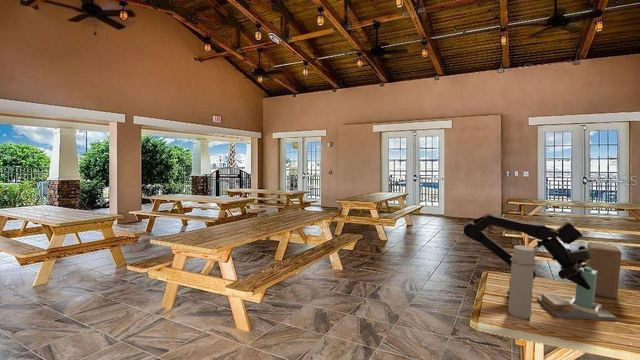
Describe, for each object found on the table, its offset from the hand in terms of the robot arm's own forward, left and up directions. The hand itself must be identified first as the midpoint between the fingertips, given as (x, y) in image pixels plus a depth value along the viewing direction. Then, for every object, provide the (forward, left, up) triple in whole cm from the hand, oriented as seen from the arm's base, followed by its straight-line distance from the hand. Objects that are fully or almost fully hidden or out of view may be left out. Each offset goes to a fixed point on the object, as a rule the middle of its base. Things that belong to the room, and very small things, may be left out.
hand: (590, 287), depth 127 cm
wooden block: (+16, +19, -10) cm, 27 cm away
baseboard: (-4, +1, -9) cm, 11 cm away
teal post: (-1, +1, -7) cm, 7 cm away
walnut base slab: (-11, +1, -8) cm, 14 cm away
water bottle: (-27, -5, -10) cm, 29 cm away
